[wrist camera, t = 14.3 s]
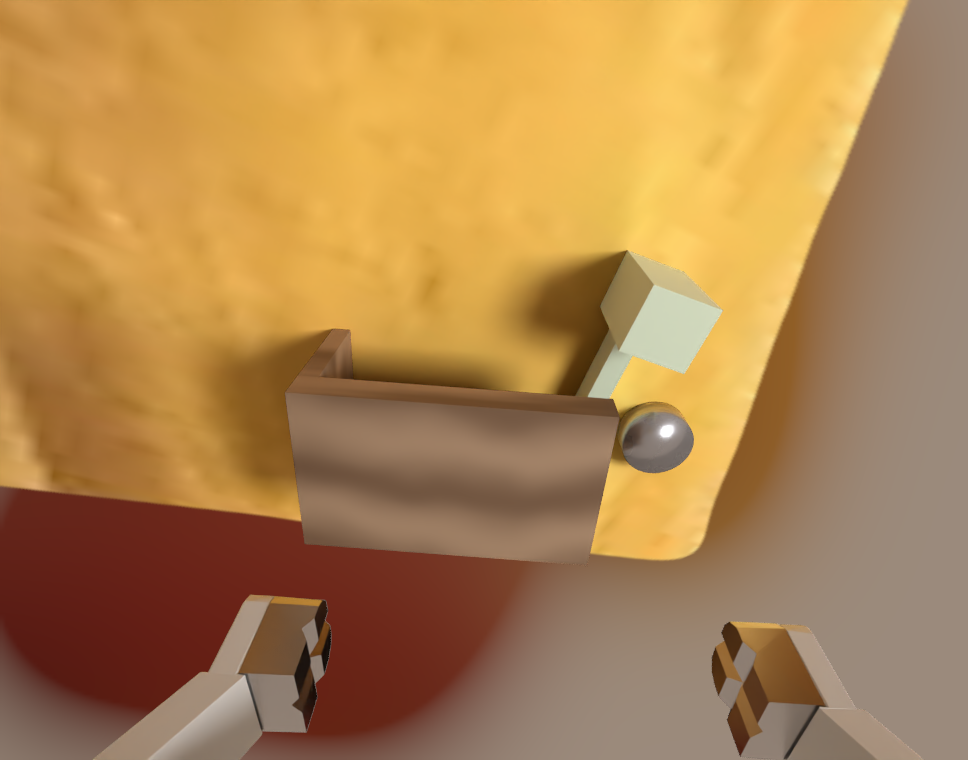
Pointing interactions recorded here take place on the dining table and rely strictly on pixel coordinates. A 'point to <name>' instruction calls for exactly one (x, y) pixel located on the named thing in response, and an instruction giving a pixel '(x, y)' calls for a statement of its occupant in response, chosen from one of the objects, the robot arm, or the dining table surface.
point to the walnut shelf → (445, 464)
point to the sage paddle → (649, 322)
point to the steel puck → (654, 437)
